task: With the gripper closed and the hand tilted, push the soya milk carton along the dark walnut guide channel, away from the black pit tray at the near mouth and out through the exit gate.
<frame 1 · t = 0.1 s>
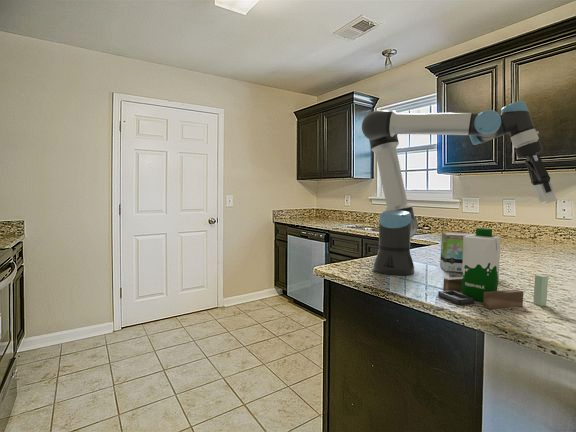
hand: (547, 201, 114), 28 cm above the worktop, tool tilted 20°, fingers open, 13 cm apart
pit tray: (455, 299, 93), on the worktop
exit gate: (511, 295, 98), on the worktop
channel: (480, 297, 95), on the worktop
soya milk: (478, 298, 95), on the worktop
tea box: (462, 271, 131), on the worktop
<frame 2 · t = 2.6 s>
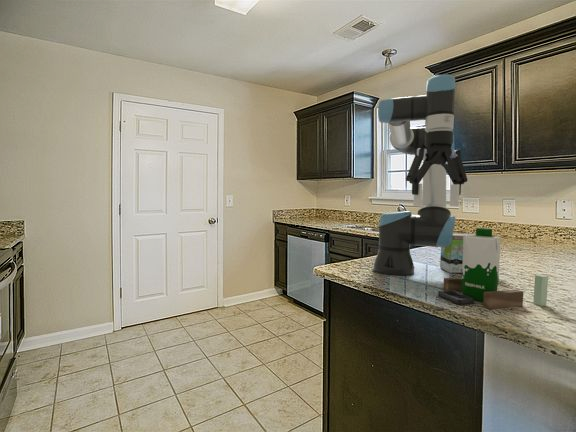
hand: (436, 206, 96), 26 cm above the worktop, tool pointing down, fingers open, 12 cm apart
tea box: (463, 271, 130), on the worktop
everything else where it was.
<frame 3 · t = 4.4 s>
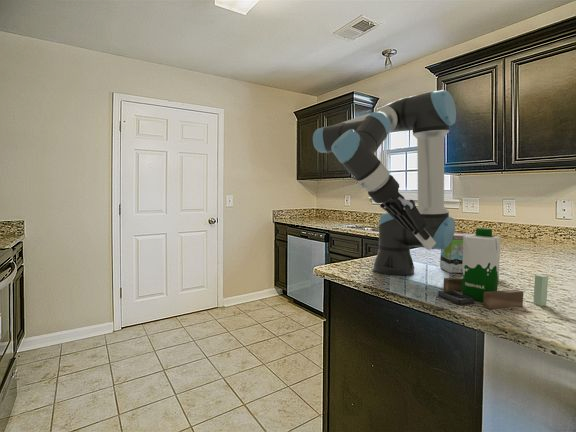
hand: (431, 246, 90), 16 cm above the worktop, tool tilted 45°, fingers closed
nothing on the worktop moved.
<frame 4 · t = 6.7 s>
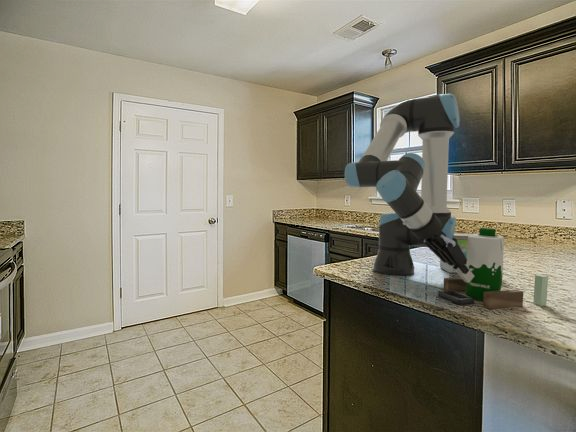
hand: (469, 278, 93), 6 cm above the worktop, tool tilted 45°, fingers closed
soya milk: (482, 298, 95), on the worktop, touching gripper
everything else where it was.
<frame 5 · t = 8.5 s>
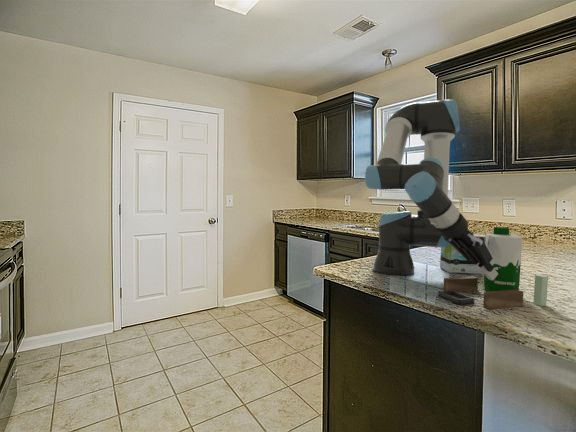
hand: (493, 276, 96), 6 cm above the worktop, tool tilted 45°, fingers closed
soya milk: (500, 294, 99), on the worktop, touching gripper
everything else where it was.
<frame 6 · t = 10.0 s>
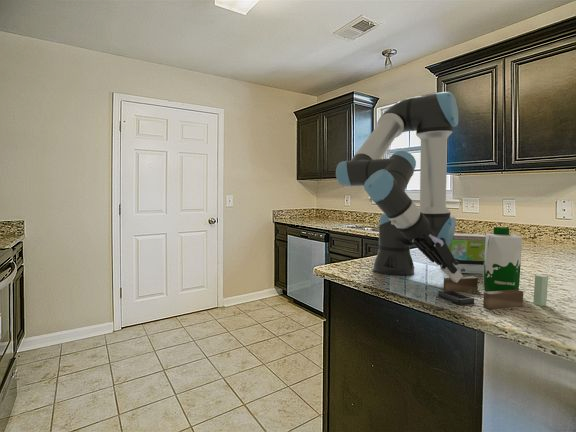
hand: (457, 278, 93), 6 cm above the worktop, tool tilted 45°, fingers closed
soya milk: (500, 294, 99), on the worktop
everything else where it was.
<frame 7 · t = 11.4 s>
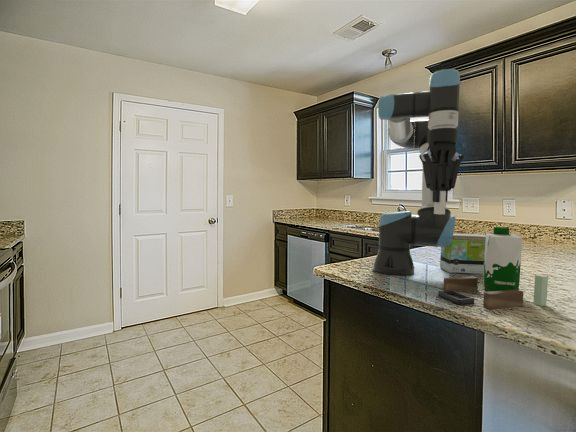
hand: (439, 214, 93), 24 cm above the worktop, tool pointing down, fingers closed
nothing on the worktop moved.
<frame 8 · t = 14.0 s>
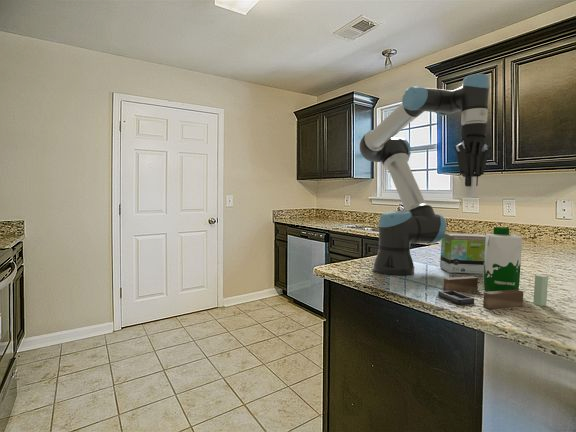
hand: (470, 196, 109), 29 cm above the worktop, tool pointing down, fingers closed
nothing on the worktop moved.
at the end: soya milk inside the target area (2.5 cm from its centre), on the worktop; soya milk tilted 0°; soya milk moved 9.8 cm from its start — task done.
